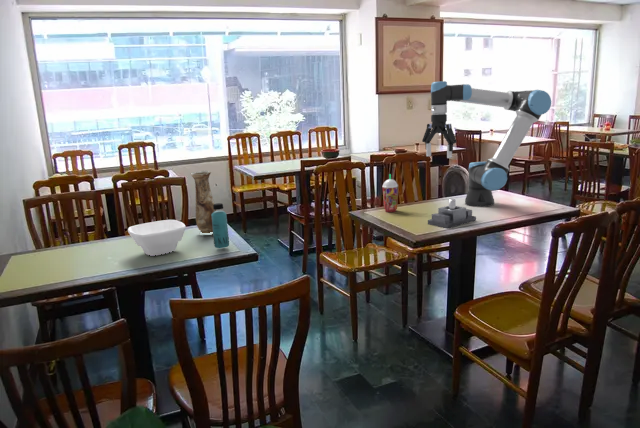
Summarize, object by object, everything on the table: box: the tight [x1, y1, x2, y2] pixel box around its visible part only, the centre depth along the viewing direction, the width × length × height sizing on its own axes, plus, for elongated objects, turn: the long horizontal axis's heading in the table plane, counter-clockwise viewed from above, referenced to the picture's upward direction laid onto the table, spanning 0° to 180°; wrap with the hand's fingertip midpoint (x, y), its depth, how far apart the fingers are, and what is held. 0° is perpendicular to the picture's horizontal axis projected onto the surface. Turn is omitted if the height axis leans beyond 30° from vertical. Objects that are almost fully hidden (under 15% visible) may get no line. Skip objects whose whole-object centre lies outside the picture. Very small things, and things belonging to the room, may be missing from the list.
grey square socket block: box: [437, 205, 467, 222], centre depth 233 cm, size 9×9×5 cm
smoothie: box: [382, 173, 399, 213], centre depth 261 cm, size 8×8×20 cm
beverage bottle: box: [211, 202, 230, 249], centre depth 208 cm, size 6×7×20 cm
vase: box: [190, 170, 217, 233], centre depth 235 cm, size 10×11×30 cm
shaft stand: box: [427, 198, 477, 230], centre depth 233 cm, size 20×12×11 cm, turn 125°
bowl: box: [127, 219, 187, 257], centre depth 209 cm, size 22×22×12 cm
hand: (438, 157), depth 248 cm, fingers open, 13 cm apart
